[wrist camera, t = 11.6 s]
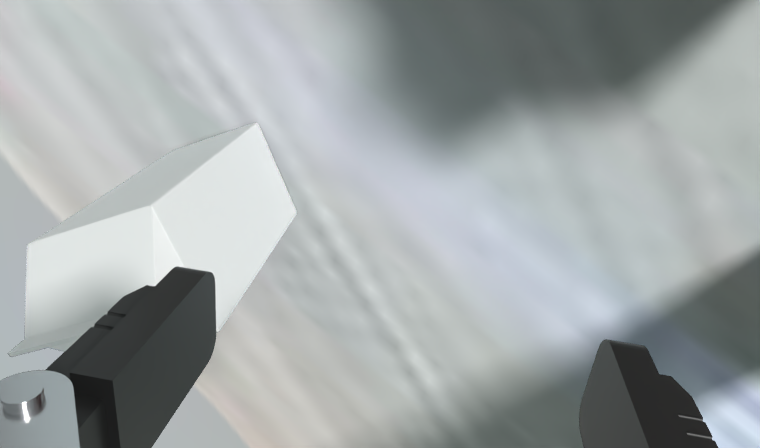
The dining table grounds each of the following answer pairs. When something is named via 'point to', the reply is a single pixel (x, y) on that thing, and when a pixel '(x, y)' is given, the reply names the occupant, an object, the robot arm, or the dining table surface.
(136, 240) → the milk carton
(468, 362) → the dining table surface
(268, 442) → the dining table surface
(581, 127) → the dining table surface
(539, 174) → the dining table surface
